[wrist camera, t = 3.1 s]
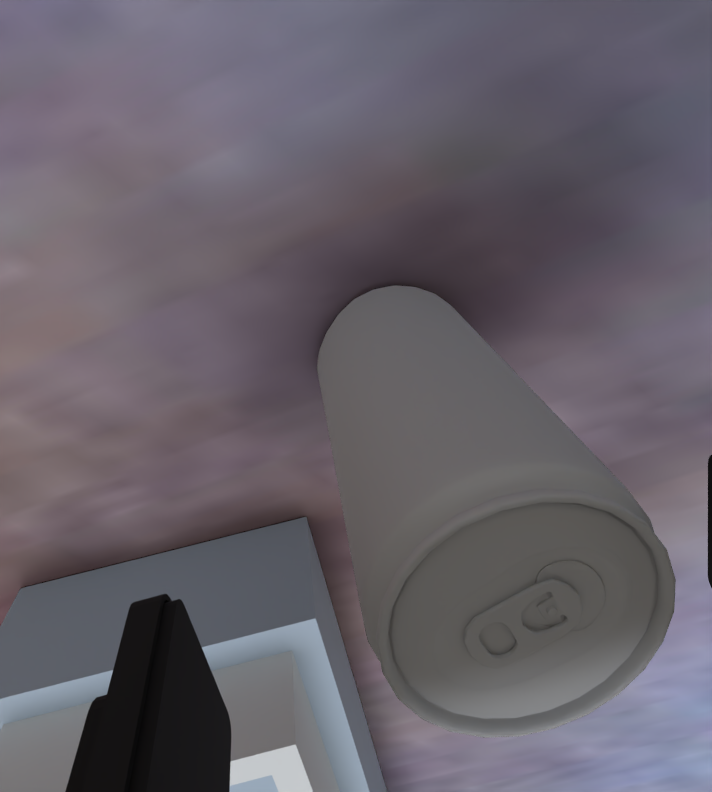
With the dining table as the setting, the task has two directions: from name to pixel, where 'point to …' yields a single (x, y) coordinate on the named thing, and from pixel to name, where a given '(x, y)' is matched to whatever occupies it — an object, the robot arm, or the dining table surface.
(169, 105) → the dining table surface
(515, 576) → the beverage can
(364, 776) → the recessed tray block
